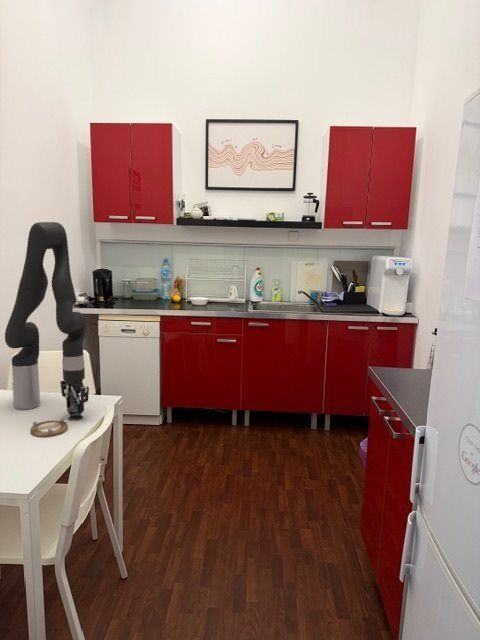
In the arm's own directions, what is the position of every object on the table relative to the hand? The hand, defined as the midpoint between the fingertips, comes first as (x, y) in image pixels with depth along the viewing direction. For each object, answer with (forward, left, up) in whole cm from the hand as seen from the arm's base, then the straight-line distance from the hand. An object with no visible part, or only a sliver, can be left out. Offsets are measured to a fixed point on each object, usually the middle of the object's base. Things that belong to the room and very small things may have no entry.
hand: (75, 410), depth 168 cm
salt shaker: (0, 0, -3) cm, 3 cm away
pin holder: (+2, -12, -3) cm, 13 cm away
